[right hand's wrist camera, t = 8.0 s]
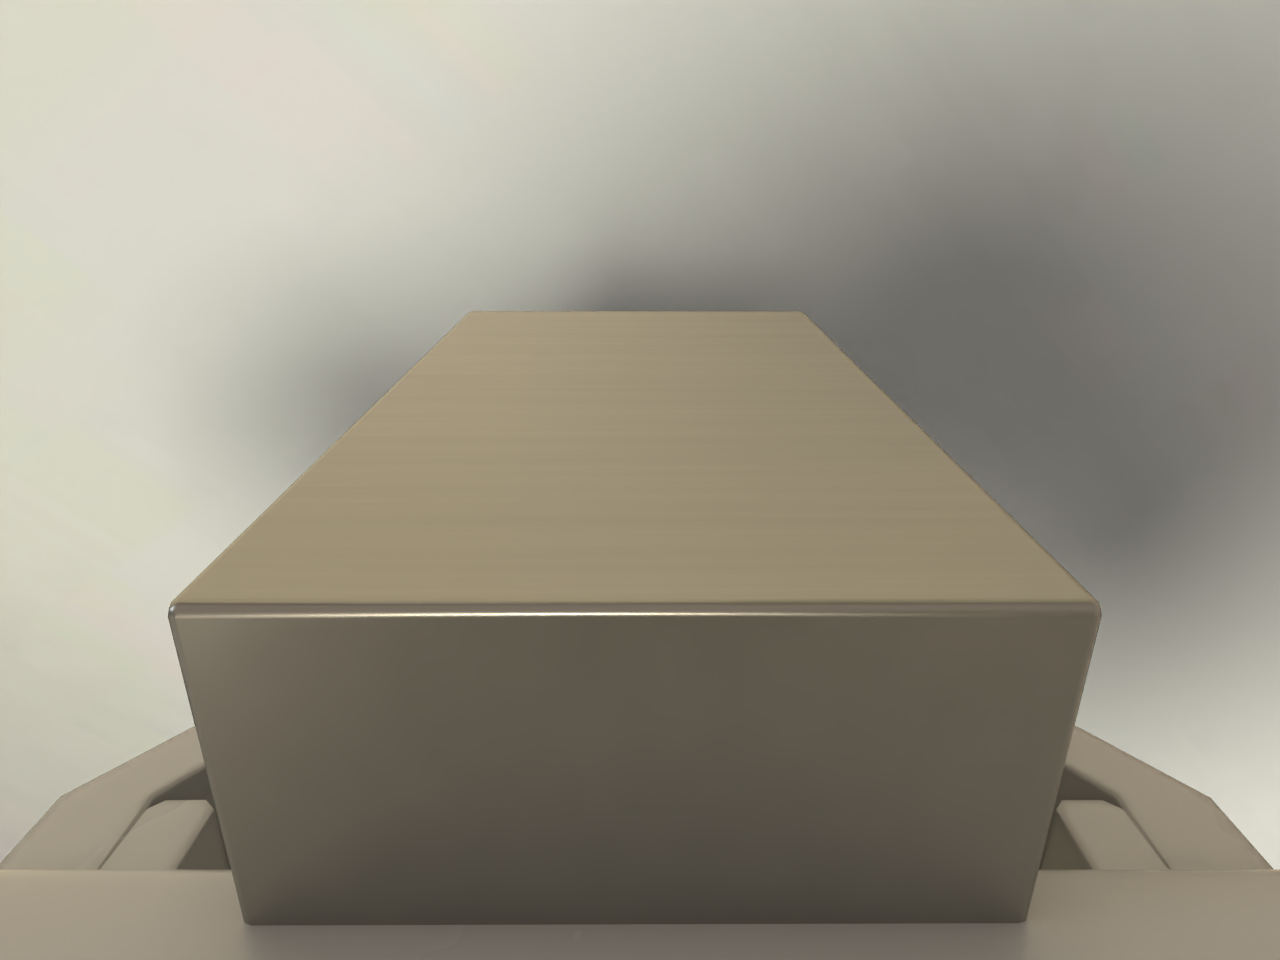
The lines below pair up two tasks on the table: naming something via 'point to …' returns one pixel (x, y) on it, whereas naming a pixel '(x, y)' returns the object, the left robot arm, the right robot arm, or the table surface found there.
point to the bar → (634, 647)
